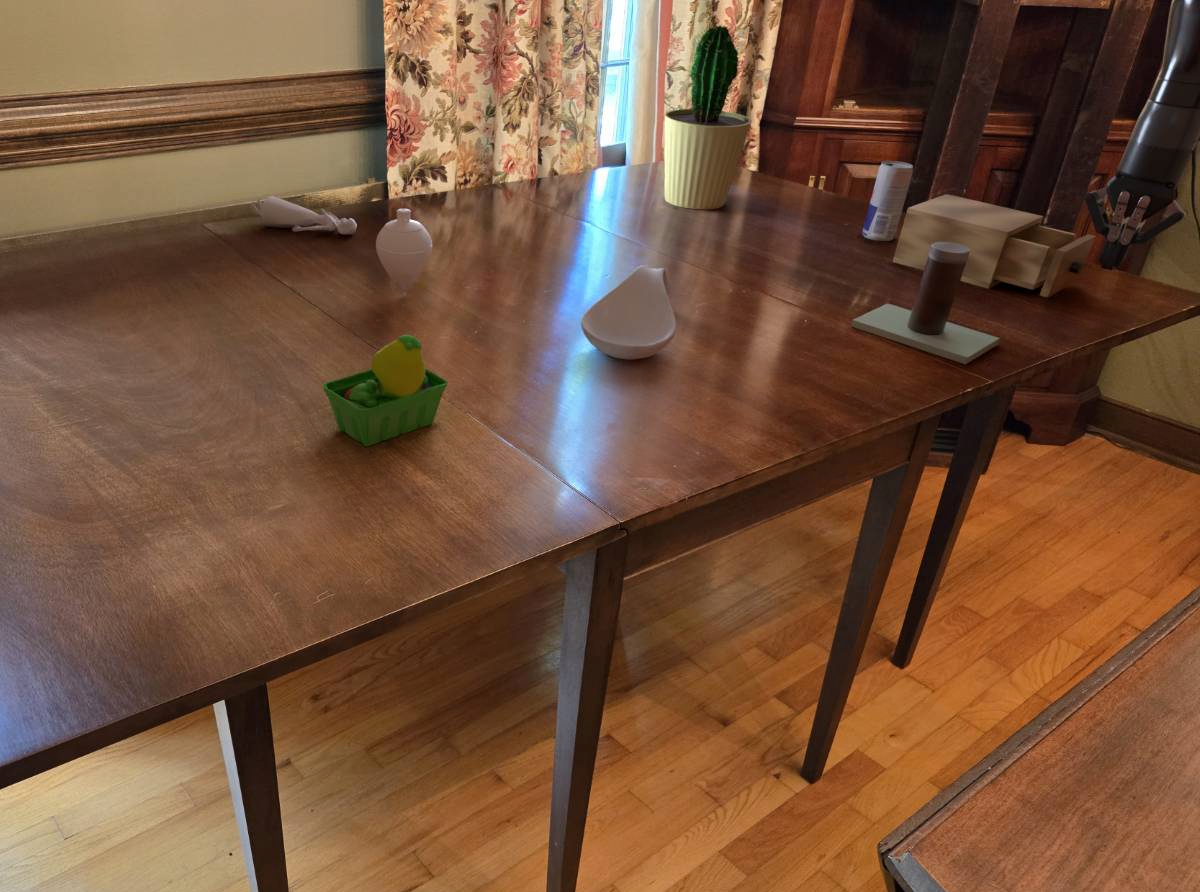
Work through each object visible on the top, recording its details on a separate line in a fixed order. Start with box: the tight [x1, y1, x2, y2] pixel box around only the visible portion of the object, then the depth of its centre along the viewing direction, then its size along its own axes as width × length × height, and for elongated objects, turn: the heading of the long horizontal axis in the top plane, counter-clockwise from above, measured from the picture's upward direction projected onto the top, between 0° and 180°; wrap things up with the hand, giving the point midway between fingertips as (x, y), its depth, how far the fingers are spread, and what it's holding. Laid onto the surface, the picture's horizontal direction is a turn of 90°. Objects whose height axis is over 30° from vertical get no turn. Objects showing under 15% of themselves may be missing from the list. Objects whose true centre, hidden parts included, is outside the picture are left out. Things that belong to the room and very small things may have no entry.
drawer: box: [994, 224, 1097, 299], centre depth 146 cm, size 16×12×7 cm
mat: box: [850, 303, 1000, 365], centre depth 129 cm, size 16×10×1 cm, turn 43°
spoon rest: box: [580, 264, 677, 361], centre depth 124 cm, size 24×12×7 cm, turn 162°
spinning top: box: [375, 208, 433, 298], centre depth 131 cm, size 8×8×12 cm
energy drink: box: [862, 160, 914, 242], centre depth 163 cm, size 5×5×12 cm
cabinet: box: [892, 193, 1044, 290], centre depth 152 cm, size 16×14×9 cm
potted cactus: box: [664, 22, 753, 210], centre depth 172 cm, size 15×15×30 cm
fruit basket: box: [322, 334, 448, 448], centre depth 99 cm, size 11×9×11 cm
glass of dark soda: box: [907, 242, 970, 335], centre depth 126 cm, size 5×5×11 cm
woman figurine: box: [250, 195, 358, 236], centre depth 157 cm, size 12×4×18 cm
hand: (1108, 268), depth 136 cm, fingers closed
